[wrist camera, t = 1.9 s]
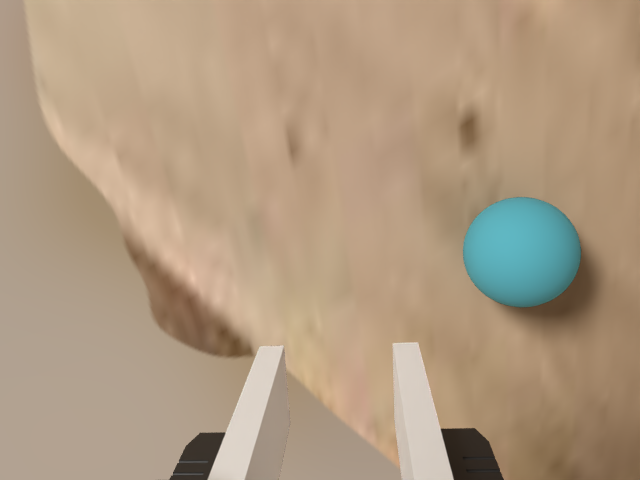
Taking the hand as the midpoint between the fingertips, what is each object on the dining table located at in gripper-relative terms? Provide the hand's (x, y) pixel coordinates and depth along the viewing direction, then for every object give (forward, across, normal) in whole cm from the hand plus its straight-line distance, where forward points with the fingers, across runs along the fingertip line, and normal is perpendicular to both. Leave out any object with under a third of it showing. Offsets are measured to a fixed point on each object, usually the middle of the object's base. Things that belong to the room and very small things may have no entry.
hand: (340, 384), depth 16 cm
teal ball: (+14, +10, 0) cm, 17 cm away
